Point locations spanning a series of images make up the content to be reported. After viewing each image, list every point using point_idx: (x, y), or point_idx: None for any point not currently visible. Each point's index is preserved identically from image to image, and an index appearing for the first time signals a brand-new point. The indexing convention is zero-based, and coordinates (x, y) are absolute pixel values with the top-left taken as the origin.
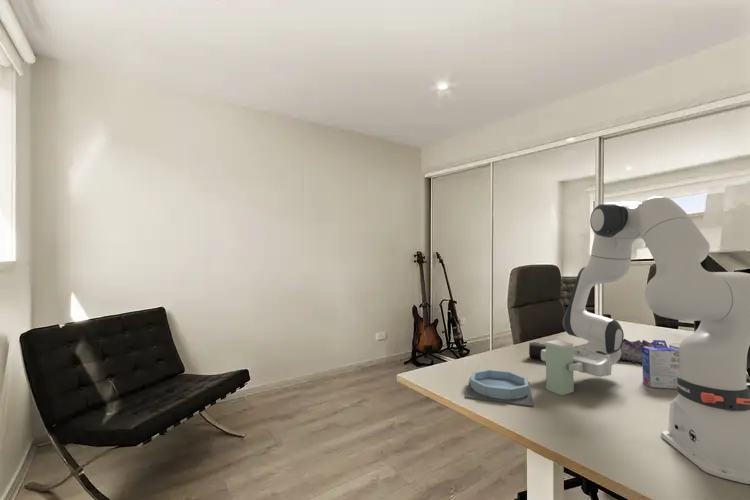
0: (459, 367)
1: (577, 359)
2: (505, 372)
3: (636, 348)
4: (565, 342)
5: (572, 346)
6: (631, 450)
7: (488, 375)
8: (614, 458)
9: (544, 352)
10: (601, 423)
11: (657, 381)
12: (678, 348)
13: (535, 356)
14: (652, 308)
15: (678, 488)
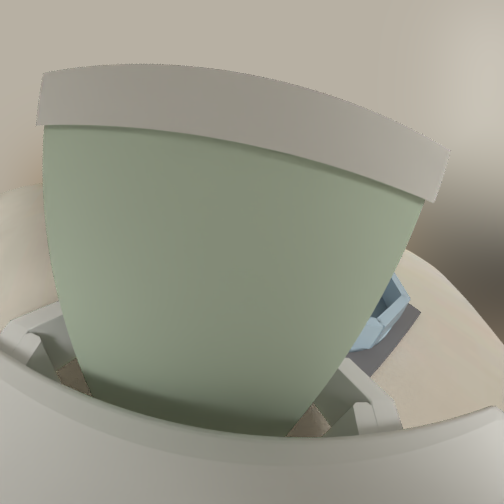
0: (475, 335)
1: (22, 373)
2: (382, 314)
3: None
4: (193, 74)
5: (53, 127)
6: (15, 218)
7: (392, 303)
8: (42, 201)
9: (470, 413)
10: (31, 261)
11: None
12: None
13: None
14: None
15: (3, 194)
